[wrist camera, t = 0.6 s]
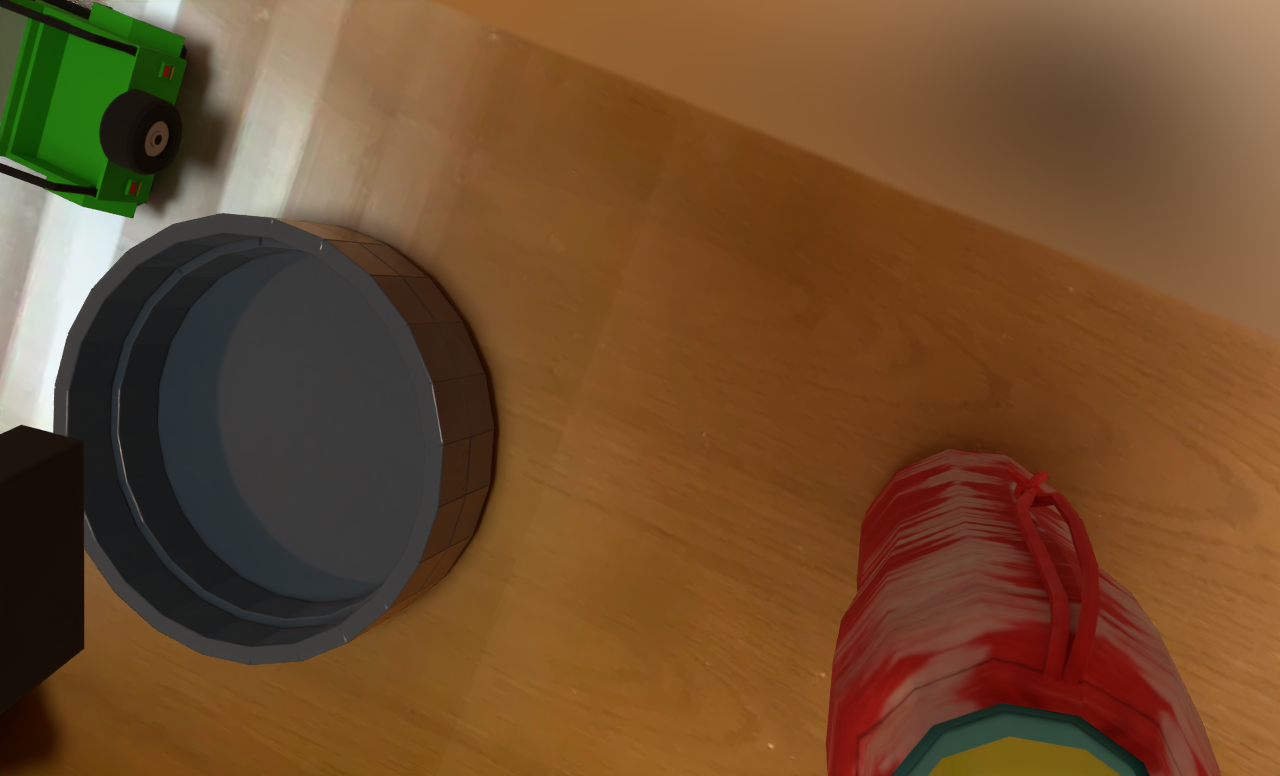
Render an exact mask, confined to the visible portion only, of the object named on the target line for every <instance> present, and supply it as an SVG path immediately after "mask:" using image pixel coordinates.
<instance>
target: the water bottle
mask: <svg viewBox="0 0 1280 776" xmlns="http://www.w3.org/2000/svg"><path fill="white" fill-rule="evenodd" d="M1048 478H1049V477H1048V474H1047V472H1044V471H1040V472H1038V473H1036V474H1035V475H1034V474H1033V473H1032V472H1030V471H1029V470H1027V469H1026V468H1024V467H1023V466H1021V465H1020V464H1018V463H1017V462H1015V461H1014V460H1013V459H1011V458H1010V457H1008V456H1007V455H1001V454H991V453H982V452H973V451H963V450H954V449H947V450H945V451H943V452H940V453H938V454H935V455H933V456H931V457H928V458H926V459H923V460H921V461H919V462H916V463H914V464H911V465H909V466H907V467H904V468H902V469H899V470H897V472H896V473H895V474H894V476H893V477H892V478H891V480H890V481H889V482H888V484H887V485H886V486H885V487H884V489H883V490H882V491H881V493H880V494H879V495H878V497H877V498H876V499H875V501H874V502H873V503H872V504H871V506H870V507H869V508H868V510H867V511H866V514H865V517H864V520H863V523H862V527H861V538H860V550H859V561H858V572H857V594H856V596H855V598H854V600H853V601H852V603H851V605H850V606H849V608H848V610H847V612H846V613H845V615H844V617H843V618H842V620H841V624H840V629H839V634H838V639H837V644H836V649H835V654H834V659H833V668H832V679H831V691H830V702H829V714H828V726H827V737H826V753H827V768H828V776H1220V770H1219V767H1218V765H1217V762H1216V759H1215V756H1214V753H1213V751H1212V748H1211V745H1210V742H1209V740H1208V737H1207V734H1206V731H1205V728H1204V726H1203V723H1202V721H1201V719H1200V717H1199V715H1198V712H1197V710H1196V708H1195V706H1194V704H1193V702H1192V700H1191V698H1190V696H1189V694H1188V692H1187V690H1186V688H1185V685H1184V683H1183V681H1182V679H1181V677H1180V675H1179V673H1178V671H1177V669H1176V667H1175V665H1174V663H1173V660H1172V658H1171V656H1170V654H1169V652H1168V650H1167V648H1166V646H1165V644H1164V642H1163V640H1162V638H1161V636H1160V633H1159V632H1158V631H1157V629H1156V628H1155V626H1154V625H1153V623H1152V622H1151V621H1150V619H1149V618H1148V616H1147V615H1146V613H1145V612H1144V611H1143V609H1142V608H1141V606H1140V605H1139V603H1138V602H1137V601H1136V599H1135V598H1134V596H1133V595H1132V593H1131V592H1129V591H1128V590H1127V589H1126V588H1124V587H1123V586H1122V585H1121V584H1119V583H1118V582H1117V581H1116V580H1114V579H1113V578H1112V577H1111V576H1109V575H1108V574H1107V573H1106V572H1104V571H1103V570H1102V569H1101V568H1099V567H1098V564H1097V561H1096V558H1095V555H1094V552H1093V549H1092V546H1091V544H1090V541H1089V538H1088V535H1087V532H1086V529H1085V526H1084V523H1083V521H1082V519H1081V518H1080V516H1079V515H1078V514H1077V512H1076V511H1075V510H1074V509H1073V507H1072V506H1071V505H1070V503H1069V502H1068V501H1067V500H1066V498H1065V497H1064V496H1063V495H1062V494H1060V493H1058V492H1057V491H1056V490H1055V488H1053V487H1052V486H1051V485H1049V484H1048V483H1046V482H1045V481H1046V480H1047V479H1048Z"/></svg>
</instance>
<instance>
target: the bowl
mask: <svg viewBox="0 0 1280 776" xmlns="http://www.w3.org/2000/svg"><path fill="white" fill-rule="evenodd" d="M55 387H56V388H55V389H54V423H53V433H55V434H59V435H63V436H67V437H70V438H74V439H78V440H82V441H84V547H85V551H86V552H87V553H88V555H89V556H90V558H91V559H92V561H93V562H94V563H95V565H96V566H97V568H98V569H99V571H100V572H101V574H102V575H103V576H104V578H105V579H106V581H107V582H108V584H109V585H110V586H111V588H112V589H113V591H114V592H115V593H117V595H118V596H119V597H120V598H121V599H122V600H123V601H124V602H126V603H127V604H128V605H129V606H130V607H131V608H132V609H133V610H134V611H136V612H137V613H138V614H139V615H140V616H141V617H142V618H143V619H144V620H145V621H147V622H148V623H149V624H150V625H151V626H152V627H153V628H154V629H156V630H157V631H159V632H161V633H163V634H165V635H166V636H168V637H170V638H172V639H174V640H176V641H178V642H180V643H181V644H183V645H185V646H187V647H189V648H191V649H193V650H195V651H196V652H198V653H202V655H207V656H211V657H216V658H220V659H225V660H229V661H234V662H238V663H243V664H247V665H259V664H272V663H286V662H299V661H304V660H307V659H309V658H312V657H314V656H317V655H319V654H322V653H324V652H327V651H329V650H332V649H334V648H337V647H339V646H342V645H344V644H347V643H349V642H350V641H352V640H353V639H355V638H357V637H358V636H360V635H362V634H363V633H365V632H367V631H368V630H370V629H372V628H373V627H375V626H376V625H378V624H380V623H381V622H383V621H385V620H386V619H388V618H390V617H391V616H393V615H395V614H396V613H398V612H399V611H401V610H403V609H404V608H406V607H408V606H409V605H410V604H411V603H412V602H414V601H415V600H416V599H417V598H419V597H420V596H421V595H422V594H424V593H425V592H426V591H427V590H428V589H430V588H431V587H432V586H433V585H435V584H436V583H437V582H438V581H440V580H441V579H442V578H443V577H444V576H445V575H446V573H447V572H448V570H449V569H450V567H451V566H452V565H453V563H454V562H455V560H456V559H457V557H458V556H459V554H460V553H461V551H462V550H463V548H464V547H465V546H466V544H467V543H468V541H469V540H470V538H471V537H472V534H473V532H474V530H475V527H476V524H477V521H478V518H479V515H480V512H481V509H482V506H483V503H484V501H485V498H486V495H487V492H488V489H489V486H490V485H489V483H490V476H491V463H492V450H493V437H494V430H493V429H494V423H493V417H492V411H491V405H490V399H489V393H488V387H487V382H486V376H485V374H484V370H483V367H482V365H481V363H480V360H479V358H478V356H477V353H476V351H475V349H474V346H473V344H472V342H471V340H470V337H469V335H468V333H467V330H466V328H465V326H464V323H463V322H462V320H461V318H460V317H459V316H458V314H457V313H456V312H455V311H454V309H453V308H452V307H451V305H450V304H449V303H448V301H447V300H446V299H445V297H444V296H443V295H442V293H441V292H440V291H439V290H438V288H437V287H436V286H435V284H434V283H433V282H432V280H431V279H430V278H428V276H426V275H425V274H424V273H423V272H421V271H420V270H419V269H417V268H416V267H415V266H414V265H412V264H411V263H410V262H408V261H407V260H406V259H404V258H403V257H402V256H401V255H399V254H398V253H397V252H395V251H394V250H393V249H392V248H390V247H389V246H387V245H386V244H384V243H381V242H379V241H376V240H374V239H371V238H369V237H366V236H364V235H361V234H359V233H356V232H354V231H352V230H349V229H347V228H344V227H341V226H335V225H327V224H319V223H311V222H303V221H295V220H287V219H279V218H270V217H258V216H247V215H236V214H225V213H222V214H216V215H211V216H207V217H202V218H198V219H193V220H189V221H185V222H180V223H176V224H172V225H171V226H169V227H167V228H165V229H164V230H162V231H160V232H158V233H157V234H155V235H153V236H152V237H150V238H148V239H146V240H145V241H143V242H141V243H140V244H138V245H136V246H134V247H133V248H131V249H129V251H127V252H126V253H125V254H124V255H123V256H122V257H121V258H120V259H119V260H118V261H117V262H116V263H115V264H114V265H113V267H112V268H111V269H110V270H109V271H108V272H107V273H106V274H105V275H104V276H103V277H102V278H101V279H100V280H99V281H98V283H97V284H96V285H95V286H94V287H93V288H92V289H91V291H90V293H89V295H88V297H87V299H86V300H85V302H84V304H83V306H82V308H81V310H80V312H79V314H78V315H77V317H76V319H75V321H74V323H73V325H72V327H71V329H70V331H69V332H68V336H67V339H66V343H65V347H64V351H63V355H62V359H61V363H60V366H59V370H58V374H57V378H56V382H55Z"/></svg>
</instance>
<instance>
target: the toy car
mask: <svg viewBox="0 0 1280 776" xmlns="http://www.w3.org/2000/svg"><path fill="white" fill-rule="evenodd" d="M112 9H113V8H111V7H109V6H106V5H102V4H99V3H95V2H93V6H92V10H89V9H87V8H84V7H82V6H79V5H77V4H75V3H72V2H70V1H67V0H0V156H3V157H7V158H9V159H11V160H13V161H15V162H17V163H20V164H22V165H24V166H26V167H28V168H30V169H32V170H35V171H37V172H39V173H41V174H43V175H45V176H47V178H46V180H45V179H43V178H40V177H37V176H34V175H32V174H29V173H26V172H23V171H21V170H18V169H15V168H12V167H10V166H7V165H4V164H1V163H0V172H1V173H4V174H7V175H9V176H12V177H15V178H18V179H20V180H23V181H26V182H29V183H31V184H34V185H37V186H40V187H43V188H44V189H46V190H48V191H50V192H52V193H54V194H56V195H59V196H61V197H63V198H65V199H67V200H69V201H71V202H74V203H76V204H78V205H80V206H83V207H87V208H91V209H95V210H100V211H104V212H108V213H112V214H116V215H121V216H125V217H129V218H133V217H134V214H135V210H136V207H137V206H139V205H141V204H142V203H145V204H146V203H147V199H148V196H149V192H150V189H151V186H152V182H153V179H154V175H155V173H157V172H159V171H161V170H163V169H164V168H165V167H167V166H168V164H169V163H170V162H171V161H172V160H173V158H174V157H175V155H176V153H177V151H178V148H179V146H180V143H181V138H182V121H181V117H180V115H179V113H178V111H177V109H176V107H175V103H176V99H177V96H178V92H179V89H180V85H181V82H182V78H183V75H184V72H185V68H186V65H187V61H186V60H185V57H186V53H187V49H186V46H185V45H183V43H184V40H185V38H184V37H182V36H179V35H177V34H174V33H171V32H169V31H166V30H163V29H161V28H158V27H155V26H153V25H150V24H147V23H145V22H142V21H139V20H137V19H134V18H132V17H129V16H127V15H124V14H122V13H120V12H117V11H115V10H112Z"/></svg>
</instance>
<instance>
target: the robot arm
mask: <svg viewBox="0 0 1280 776" xmlns="http://www.w3.org/2000/svg"><path fill="white" fill-rule="evenodd" d="M83 649H84V441H82V440H78V439H74V438H70V437H67V436H63V435H59V434H55V433H51V432H47V431H43V430H40V429H36V428H32V427H28V426H24V425H20V426H18V427H15V428H13V429H11V430H9V431H7V432H4V433H2V434H0V715H1V714H2V713H4V712H5V711H6V710H7V709H9V708H10V707H11V706H13V705H14V704H15V703H16V702H18V701H19V700H20V699H21V698H23V697H24V696H25V695H26V694H28V693H29V692H30V691H31V690H33V689H34V688H35V687H36V686H38V685H39V684H40V683H41V682H43V681H44V680H45V679H46V678H48V677H49V676H50V675H51V674H53V673H54V672H55V671H56V670H58V669H59V668H60V667H61V666H63V665H64V664H65V663H66V662H68V661H69V660H70V659H71V658H73V657H74V656H75V655H77V654H78V653H79V652H80V651H82V650H83Z"/></svg>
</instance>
